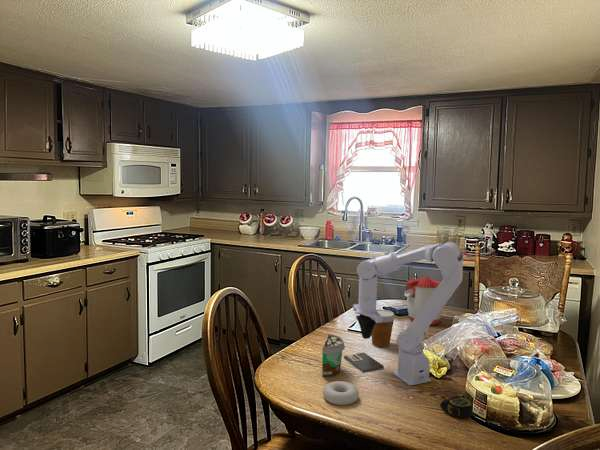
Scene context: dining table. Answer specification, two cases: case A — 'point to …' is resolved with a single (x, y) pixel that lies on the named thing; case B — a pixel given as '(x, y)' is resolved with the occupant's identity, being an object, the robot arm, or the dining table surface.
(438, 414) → the dining table surface
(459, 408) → the tape measure
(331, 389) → the donut
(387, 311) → the disposable coffee cup
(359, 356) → the label panel
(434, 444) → the dining table surface
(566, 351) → the dining table surface
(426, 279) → the citrus juicer
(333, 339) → the food container
